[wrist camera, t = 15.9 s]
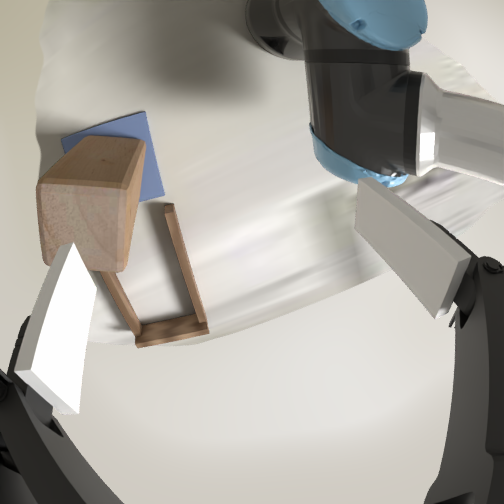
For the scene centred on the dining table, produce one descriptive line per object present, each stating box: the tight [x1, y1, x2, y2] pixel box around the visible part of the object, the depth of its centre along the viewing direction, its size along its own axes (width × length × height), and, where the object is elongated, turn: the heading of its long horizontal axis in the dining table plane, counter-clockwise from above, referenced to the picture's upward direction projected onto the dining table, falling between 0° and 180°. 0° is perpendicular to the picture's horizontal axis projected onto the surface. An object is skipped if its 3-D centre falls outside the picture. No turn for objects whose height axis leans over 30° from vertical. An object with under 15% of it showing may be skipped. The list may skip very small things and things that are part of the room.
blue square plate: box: [61, 112, 165, 202], centre depth 41 cm, size 14×14×1 cm
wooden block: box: [36, 135, 146, 273], centre depth 33 cm, size 10×10×20 cm
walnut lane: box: [100, 204, 209, 348], centre depth 53 cm, size 16×28×5 cm, turn 7°
